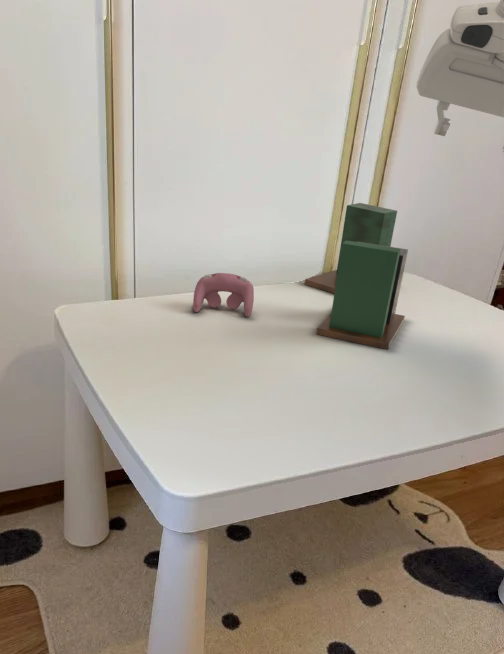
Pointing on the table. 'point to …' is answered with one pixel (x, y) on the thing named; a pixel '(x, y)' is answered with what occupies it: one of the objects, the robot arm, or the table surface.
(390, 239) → the green bookend
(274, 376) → the table surface
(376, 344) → the wooden bookend
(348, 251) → the green book
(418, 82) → the robot arm
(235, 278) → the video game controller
